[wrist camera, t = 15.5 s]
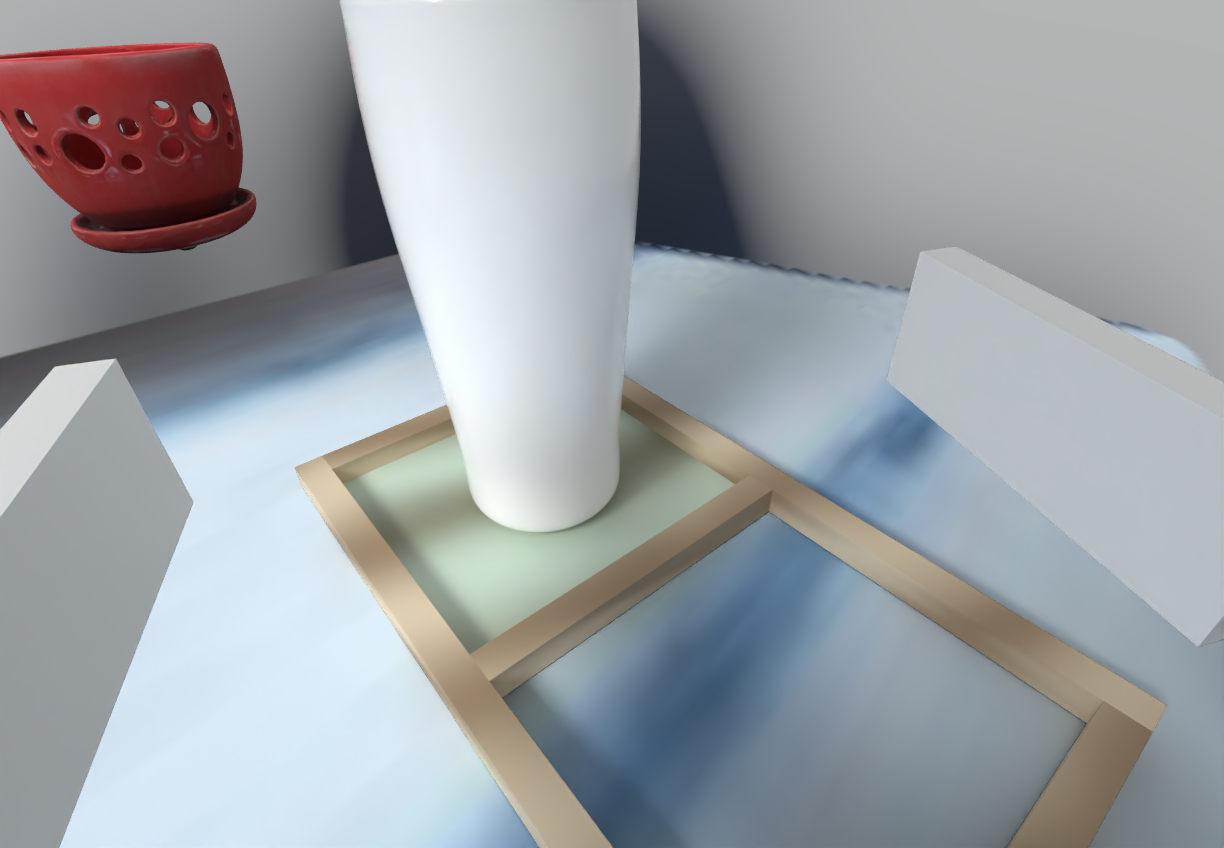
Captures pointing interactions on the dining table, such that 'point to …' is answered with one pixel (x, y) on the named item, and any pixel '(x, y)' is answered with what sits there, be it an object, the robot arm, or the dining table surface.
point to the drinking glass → (513, 227)
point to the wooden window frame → (636, 567)
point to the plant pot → (131, 141)
